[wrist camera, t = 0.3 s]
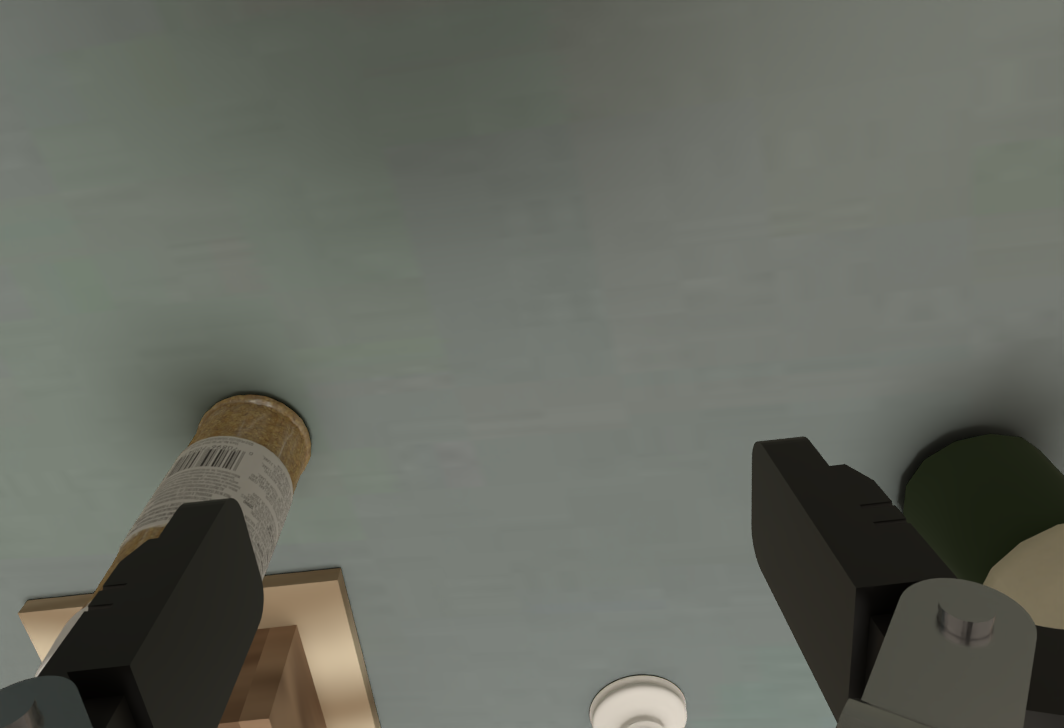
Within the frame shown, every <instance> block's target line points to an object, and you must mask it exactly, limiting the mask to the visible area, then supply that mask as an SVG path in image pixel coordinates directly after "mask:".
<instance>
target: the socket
mask: <svg viewBox="0 0 1064 728" xmlns="http://www.w3.org/2000/svg"><path fill="white" fill-rule="evenodd" d="M262 583H263V591H264V605H263V613H262V618H261V621H260V624H259V626H258V629H257V631H256V634H255V636H254V639H253V641H252V644H251V646H250V649H249V651H248V654H247V656H246V658H245V661H244V663H243V666H242V668H241V671H240V673H239V676H238V678H237V681H236V683H235V686H234V688H233V691H232V693H231V696H230V698H229V700H228V703H227V705H226V708H225V710H224V713H223V715H222V718H221V720H220V723H219V725H218V728H381V727H380V723H379V719H378V715H377V711H376V707H375V703H374V699H373V695H372V691H371V687H370V683H369V679H368V675H367V671H366V667H365V663H364V659H363V655H362V651H361V647H360V643H359V639H358V635H357V631H356V627H355V623H354V619H353V615H352V611H351V607H350V603H349V599H348V595H347V591H346V587H345V583H344V579H343V575H342V571H341V568H335V569H326V570H316V571H307V572H297V573H287V574H278V575H268V576H264V578H263V581H262ZM92 596H93V594H85V595H75V596H66V597H56V598H46V599H37V600H28V601H27V602H26V603H25V605H24V606H23V607H22V609H21V610H20V611H19V613H18V615H19V617H20V619H21V621H22V623H23V625H24V627H25V629H26V631H27V633H28V635H29V637H30V639H31V641H32V643H33V645H34V647H35V649H36V651H37V653H38V655H39V657H40V659H41V661H42V662H43V660H44V658H45V657H46V655H47V653H48V652H49V650H50V648H51V647H52V645H53V644H54V642H55V640H56V639H57V637H58V635H59V634H60V632H61V631H62V629H63V628H64V626H65V625H66V623H67V622H68V621H69V620H70V619H71V618H72V617H73V616H74V615H75V614H76V613H77V612H79V611H80V610H81V609H82V608H83V606H84V605H85V604H86V603H87V602H88V601H89V600H90V599H91V597H92Z"/></svg>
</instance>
